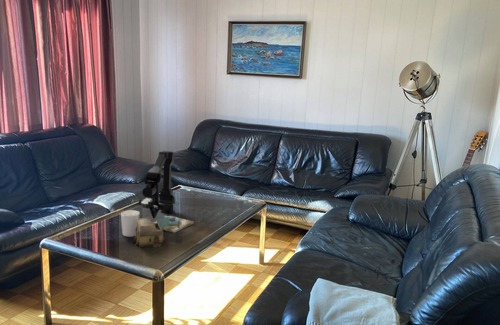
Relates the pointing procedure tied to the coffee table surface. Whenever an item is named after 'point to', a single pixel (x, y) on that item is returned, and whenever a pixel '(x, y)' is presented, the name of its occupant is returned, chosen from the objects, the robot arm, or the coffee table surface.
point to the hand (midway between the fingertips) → (154, 218)
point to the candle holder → (129, 222)
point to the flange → (167, 221)
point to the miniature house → (148, 233)
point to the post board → (179, 225)
